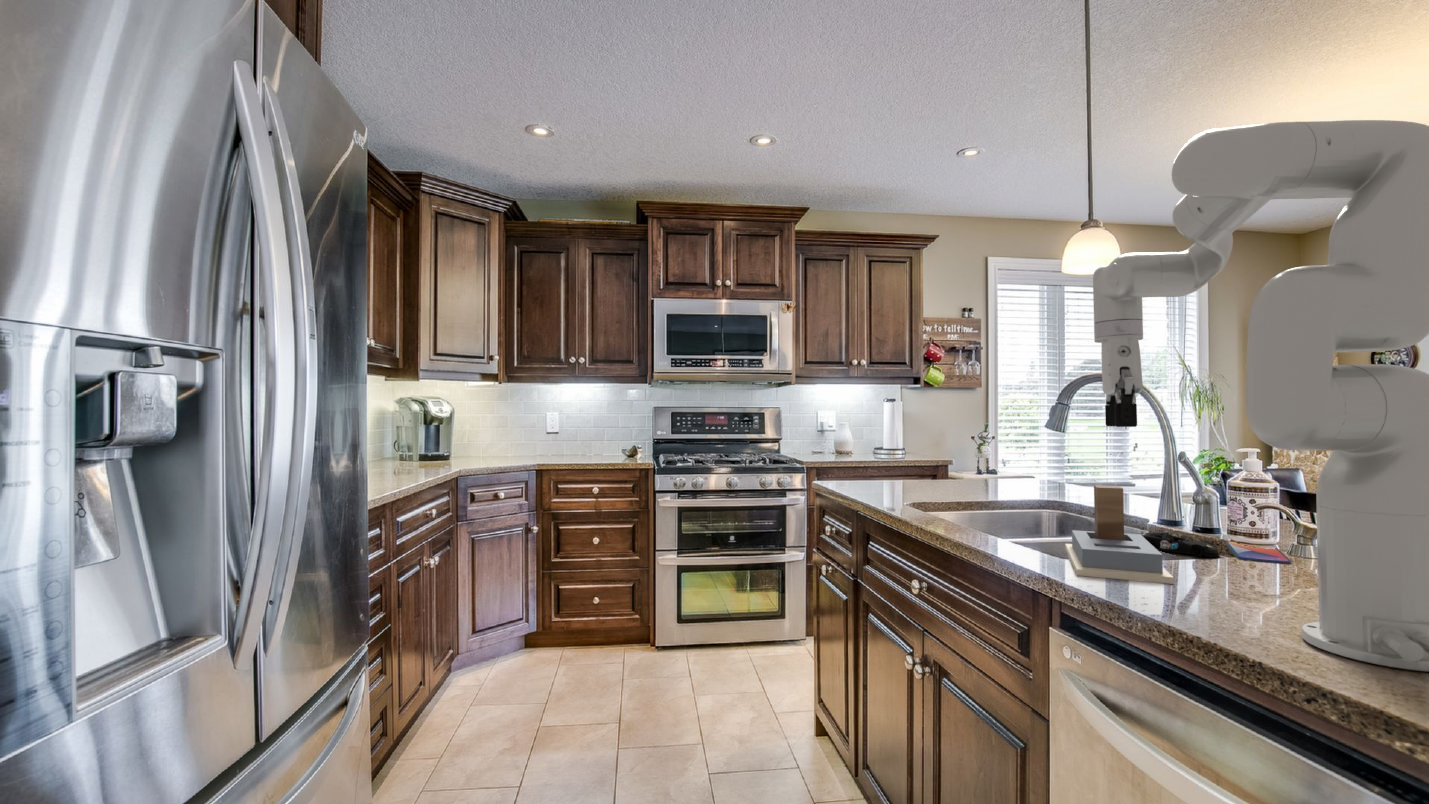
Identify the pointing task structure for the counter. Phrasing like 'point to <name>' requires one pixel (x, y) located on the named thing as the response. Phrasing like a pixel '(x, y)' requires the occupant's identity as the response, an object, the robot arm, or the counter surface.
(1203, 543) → the toy car
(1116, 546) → the bore block
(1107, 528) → the block
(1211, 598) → the counter surface
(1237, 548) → the smartphone
